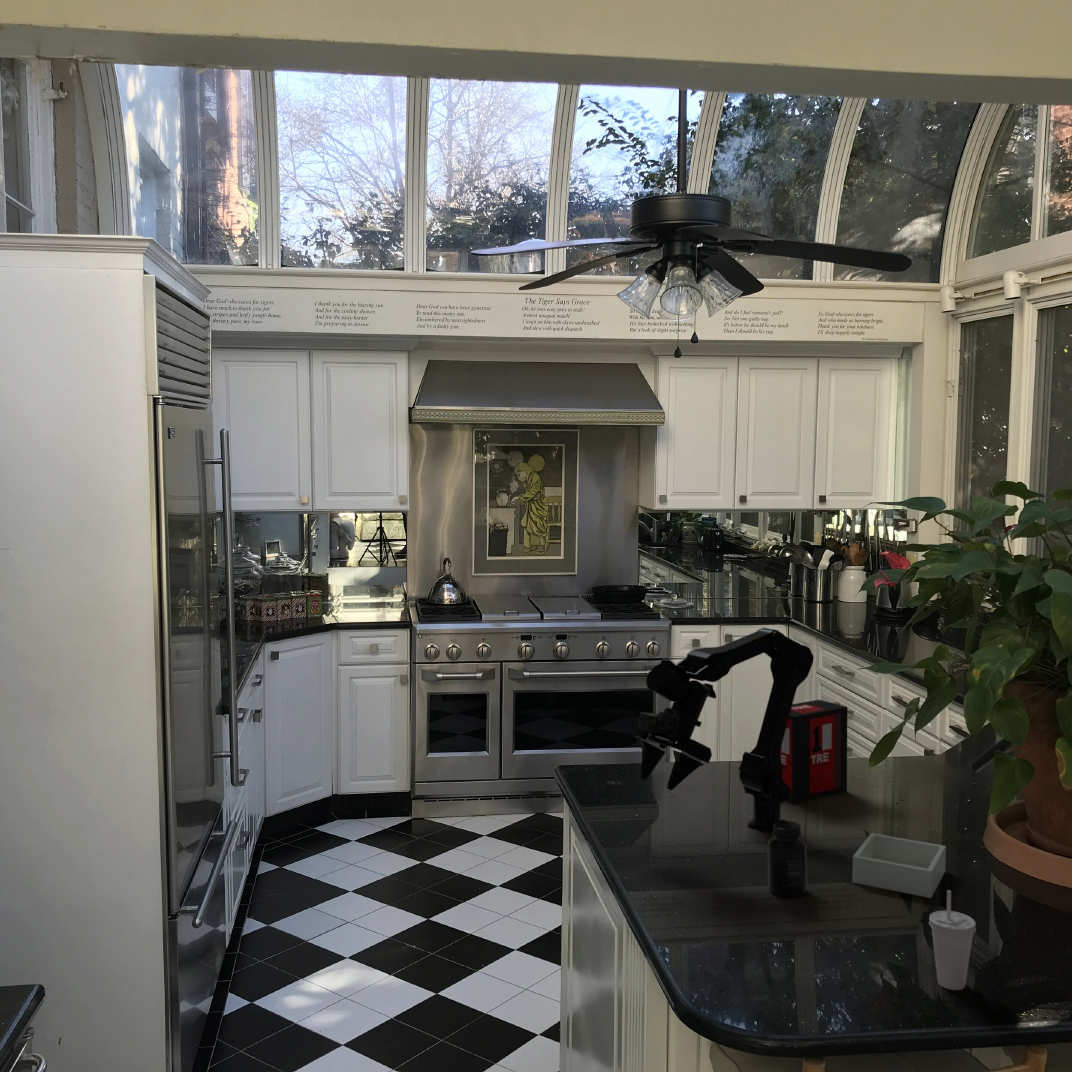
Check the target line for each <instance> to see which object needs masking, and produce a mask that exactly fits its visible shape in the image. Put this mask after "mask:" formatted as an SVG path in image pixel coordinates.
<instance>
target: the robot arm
mask: <svg viewBox="0 0 1072 1072" xmlns="http://www.w3.org/2000/svg"><path fill="white" fill-rule="evenodd" d="M762 654H765V655H766V656H768V657H769V658H770V665H769V666H770V667H769V669H770V672H771V676H772V679H773V682H772V687H771V690H770V693H769V697H768V701H767V704H766V708H765V711H764V714H763V715H764V716H763V720H762V723H761V726H760V729H759V733H758V739H757V742H756V745H755V747H754V748H753V749H752V750H751V751H750V752H748V751H744V752H743V754H742V759H741V763H740V766H739V767H738V771H739V780H740V783H741V785H742V787H743V791H744V794H749V795H751V796H752V799H753V800H752V806H753V807H752V809H753V810H752V814H753V816H752V817H753V818H752V819H751V820H750V821H749V822H748V823H747V827H749V828H756V829H761V830H765V831H771V832H773V824H774V823H776V822H779V821H787V820H786V819H782V804H784V803H786V802H787V801H786V800H789V799H790V795H791V789H790V787H789V786H788V785H787V784H786V783H785V782H784V781H783V780H782V773H783V766H782V762H781V758H780V749H781V746H782V742H783V738H784V734H785V731H786V727H787V723H788V719H789V715H790V712H791V708H792V704H794V699H795V695H796V692H797V688H798V687H799V686H800V685H801V684H802V683H803V682H804V681H806V679H807V678H808V676H809V674H810V672H811V669H812V666H813V665H814V654H813V652H812V650H811V648H810V647H809V646H807V645H805V644H804V645H803V644H801V643H799V642H797V641H795V640H793V639H792V638H790V637H787V636H786V635H785V634H784V633H782V632H780V630H777V629H774V628H773V629H772V628H768V627H762V628H759V629H757V630H756V631H755V632H752V633H749V634H748V635H745V636H742V637H739V638H737V639H735V640H733V641H732V640H731V641H730V642H728V643H726V644H723V645H719V646H711V647H708V646H707V647H700V648H695V649H692V650H690V651H688V653H687V654H686V656H685V657H684V658H683V659H682V660H680V661H678V662H677V663H674V662H673V661H671V660H670V659H665V658H662V659H661V661H660V663H658V664H657V665H655V666H653V668H652V669H651V670H650V671H648V673H647V677H646V681H645V683H646V688H647V689H649V690H650V691H651V692H653V693H655V694H657V695H659V696H660V697H662V698H664V699H666V700H667V701H669V702H672V705H671V707H666V708H664V709H663V711H659V713H658V712H657V713H656V712H639V721H638V726H637V728H636V730H635V733H634V737H635V738H636V742H637V743H638V744H639V746H640V748H641V765H640V766H641V769H640V779H641V780H643V781H647V779H648V778H649V776H650V775H651V774H652V773H653V771H654V770H655V768H656V766H657V765H658V764H659V763H660V761H661V760H662V758H663V756H664V755H665V754H666V751H665V749H666V748H667V747H669V748H672V749H673V750H672V753H673V758H674V763H673V765H672V769H671V772H670V775H669V778H668V781H667V785H666V789H667V790H670V791H673V790H674V789H675V788H676V787H677V786H679V784H680V783H682V782H683V781H684V780H685V779H686V778H687V777H689V776H690V775H691V774H692V773H694V772H695V771H696V770H697V769H699V768H700V767H703V766H704V765H705V764H709V763H710V761H711V758H712V755H713V753H712V750H711V749H712V748H710V747H709V746H707V745H705V744H703V743H701V742H699V741H697V740H696V739H693V738H692V736H693V733H694V730H695V729H696V727H698V728H700V727H701V726H702V723H703V722H702V721H700V720H699V719H700V716H701V713H702V710H703V708H704V705H705V703H706V701H707V700H708V698H711V699H714V700H715V699H717V693H716V692H715V690H714V685H713V684H710V683H706V682H711V683H715V682H718V681H720V680H721V679H722V678H724V677H725V676H727V675H728V674H729V673H730V671H731V668H733V667H735V666H736V665H739V664H741V663H743V662H746V661H748V660H750V659H753V658H755V657H758V656H761V655H762ZM691 679H692V680H691ZM705 681H706V682H705ZM701 682H705V683H701ZM675 749H676V750H675ZM677 750H678V751H677ZM704 763H705V764H704ZM709 765H710V764H709Z"/></svg>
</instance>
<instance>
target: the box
mask: <svg viewBox="0 0 1072 1072" xmlns="http://www.w3.org/2000/svg"><path fill="white" fill-rule="evenodd" d="M946 848H947V845H943V844H937V843H930V842H924V841H918V840H914V839H913V840H912V839H906V838H901V837H896V836H895V837H894V836H890V835H889V836H888V835H885V834H879V833H873V832H871V833H869V835H868V836H867V838H866V839H865V840H864V842H863V843H862V844H861V845H860V847H859V848H858V849H857V851H856V852H855V853H854V854H853V856H852V883H854V884H858V885H863V886H868V887H873V888H880V889H884V890H888V891H889V890H890V891H894V892H899V893H903V894H909V895H914V896H919V897H923V898H929V899H932V897H933V895H934V894H935V892H936V890H937V888H938V886H939V884H940V882H941V880H942V878H943V876H944V875H945V873H946V856H947V855H946V851H947V849H946Z"/></svg>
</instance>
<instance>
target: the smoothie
mask: <svg viewBox="0 0 1072 1072" xmlns="http://www.w3.org/2000/svg"><path fill="white" fill-rule="evenodd" d="M928 918H929V921H928V925H929V926H930V927H931V935H932V944H933V950H934V951H933V952H934V959H935V961H934V962H935V967H936V979H937V983H938V985H939V986H941V987H942V988H944V989H947V990H952V991H960V990H963V989H965V987H966V983H967V975H968V969H969V963H970V962H969V961H970V956H971V949H972V944H973V943H972V942H973V938H974V937H973V936H974V934H975V933H976V931H977V927H976V920H974V919H973V918H972V917H970V916H969V915H967V914H964V913H961V912H959V911H953V910H952V891H951V890H949V889H948V890H947V889H946V910H937V911H934V912H931V913H930V914H929V917H928Z"/></svg>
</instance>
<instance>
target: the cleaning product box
mask: <svg viewBox="0 0 1072 1072" xmlns="http://www.w3.org/2000/svg"><path fill="white" fill-rule="evenodd" d="M780 758H781V762H782V766H783V773H782V780H783V781H784V782H785V783H786V784H787V785H788V786H789V787H790V789H791V795H790V799H789V800H786V801H785V802H787V801H788V802H787V803H789V802H790V803H789V804H793V805H794V804H795V805H798V804H802V803H807V802H810V801H814V800H818V799H824V798H827V797H831V796H835V795H840V794H843V793H847V792H848V706H845V705H841V704H837V703H833V702H829V701H827V700H826V701H825V700H822V699H815V700H809V701H804V702H799V703H793V704H792V708H791V712H790V715H789V719H788V723H787V727H786V731H785V734H784V738H783V742H782V746H781V749H780Z"/></svg>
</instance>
